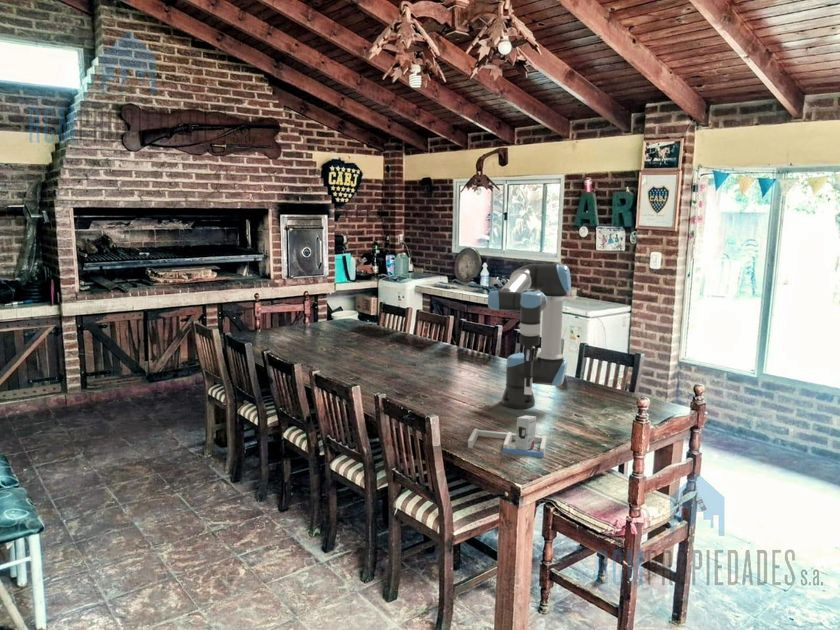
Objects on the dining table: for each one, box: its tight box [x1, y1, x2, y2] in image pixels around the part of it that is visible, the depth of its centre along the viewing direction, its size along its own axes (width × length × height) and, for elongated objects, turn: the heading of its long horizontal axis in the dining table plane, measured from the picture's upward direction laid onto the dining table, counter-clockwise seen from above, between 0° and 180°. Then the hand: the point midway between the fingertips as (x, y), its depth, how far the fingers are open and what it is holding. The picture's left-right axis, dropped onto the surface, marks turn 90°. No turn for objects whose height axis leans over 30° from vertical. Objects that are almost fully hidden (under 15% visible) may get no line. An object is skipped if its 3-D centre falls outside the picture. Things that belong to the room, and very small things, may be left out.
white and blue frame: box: [467, 428, 548, 458], centre depth 247 cm, size 15×28×3 cm, turn 74°
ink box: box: [514, 415, 537, 451], centre depth 242 cm, size 9×5×12 cm, turn 149°
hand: (528, 393), depth 243 cm, fingers closed
